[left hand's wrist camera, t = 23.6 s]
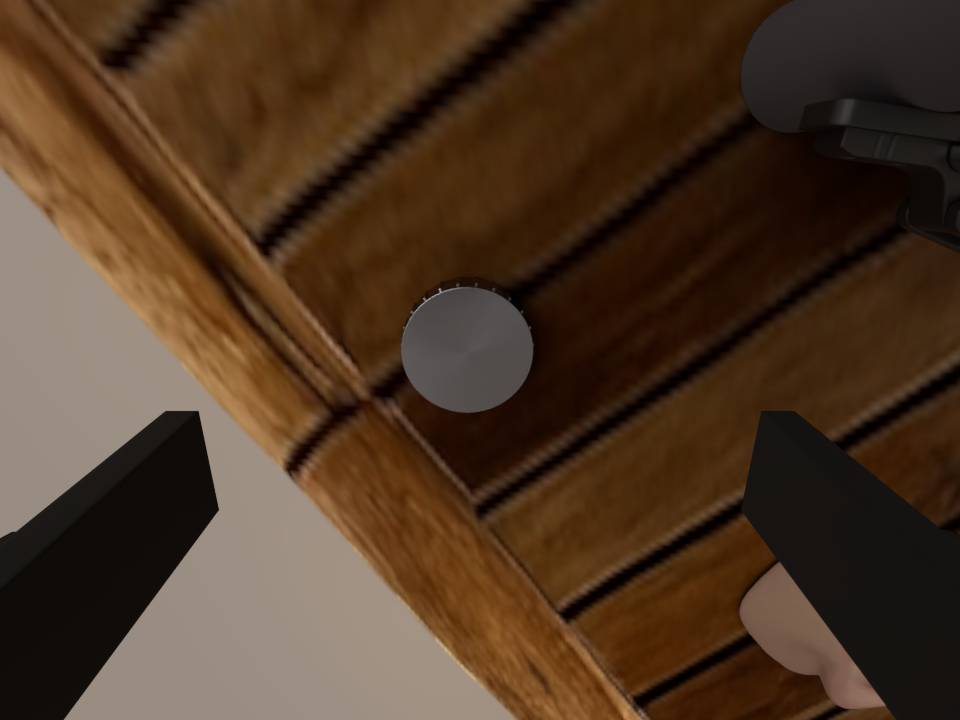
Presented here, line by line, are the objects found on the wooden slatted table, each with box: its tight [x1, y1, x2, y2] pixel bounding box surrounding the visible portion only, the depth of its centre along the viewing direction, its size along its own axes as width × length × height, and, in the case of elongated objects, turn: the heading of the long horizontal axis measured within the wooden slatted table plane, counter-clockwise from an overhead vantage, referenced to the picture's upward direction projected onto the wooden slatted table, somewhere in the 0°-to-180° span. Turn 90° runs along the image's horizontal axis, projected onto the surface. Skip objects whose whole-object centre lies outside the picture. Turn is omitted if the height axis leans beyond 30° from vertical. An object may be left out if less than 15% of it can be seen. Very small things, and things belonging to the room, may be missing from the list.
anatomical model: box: [739, 562, 886, 709], centre depth 29 cm, size 13×4×12 cm
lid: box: [400, 277, 534, 413], centre depth 24 cm, size 6×6×2 cm
